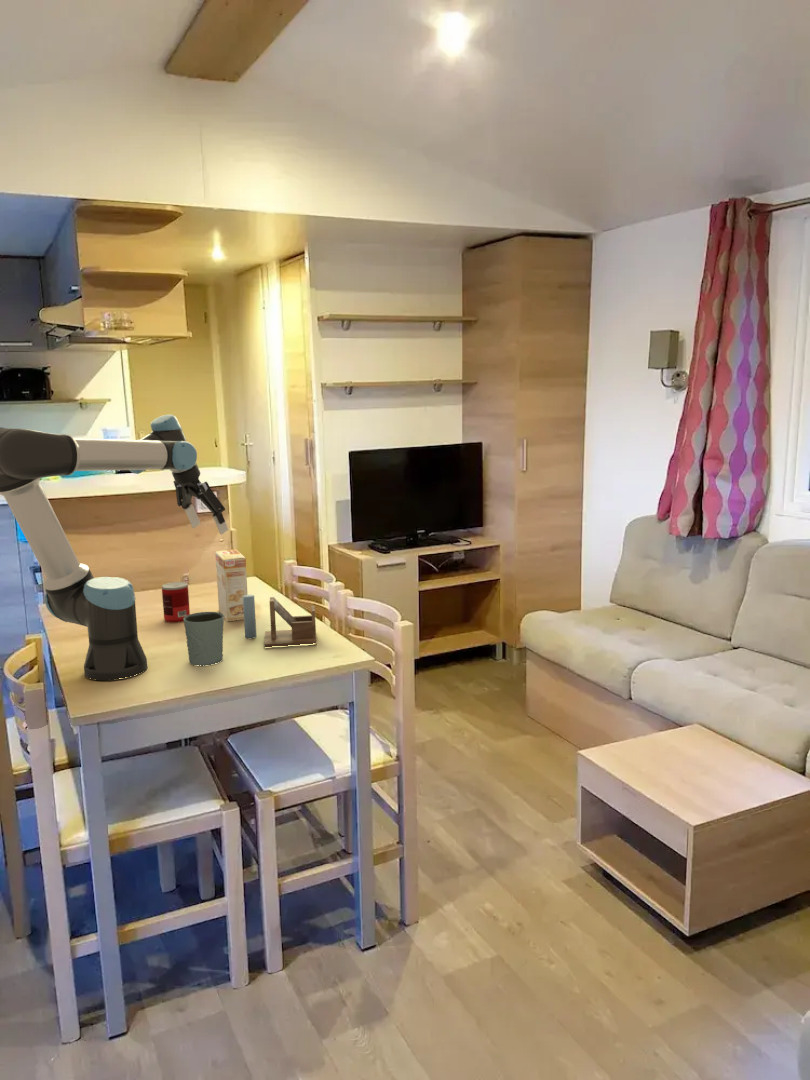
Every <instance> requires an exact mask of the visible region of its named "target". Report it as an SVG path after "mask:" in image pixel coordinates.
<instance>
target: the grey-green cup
mask: <svg viewBox="0 0 810 1080" xmlns="http://www.w3.org/2000/svg"><path fill="white" fill-rule="evenodd" d="M224 619H225V618H224V615H223V614H221V612H217V611H204V612H203V611H202V612H200V611H199V612H195V613H190V615H187V616H185V617H184V618H183V620H184V621H183V625H184V631H185V632H184V633H185V637H186V647H187V651H188V652H187V654H188V661H189V664H190V663H191V664H193V665H192V666H194V665H199V666H198V667H206V666H205V665H211V664H215V663H218V662H220V661H221V660H222V661H223V658H224V657H223V652H224V650H223V649H224V646H223V645H224V643H223V642H224V621H225V620H224ZM222 661H221V662H222ZM221 662H220V663H221ZM191 664H190V665H191ZM218 664H219V663H218ZM200 665H201V666H200ZM203 665H204V666H203ZM215 665H216V664H215ZM211 666H212V665H211Z"/></svg>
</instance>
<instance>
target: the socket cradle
mask: <svg viewBox="0 0 810 1080" xmlns="http://www.w3.org/2000/svg"><path fill="white" fill-rule="evenodd" d="M310 609H311V615H297V616H293V615H292V614H291V613H290V612H289V611H288V610H287V609H286V608H285V607H284V606H283V605H282V604H281V603H280V602H279V601H278V600H277V599H276V598H275V596H270V597H269V618H270V630H266V631H265V634H264V640H263V641H264V642H263V648H264V647H272V646H288V645H300V644H313V643H316V644H317V632H316V631H317V630H316V629H317V627H316V607H315V605H311V606H310ZM276 613H277V614H278V615H279V617H280V618H282V619H283V620H284V622H286V623H287V624H288V626H289V627H291V629H287V630H286V629H285V630H282V629H281V630H277V628H276V627H277V623H276Z"/></svg>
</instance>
